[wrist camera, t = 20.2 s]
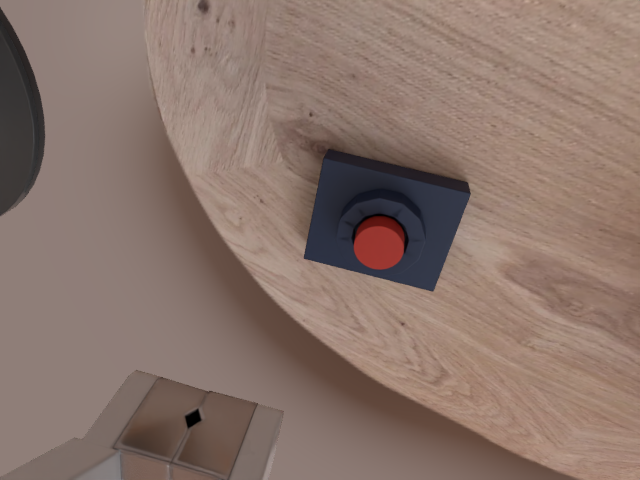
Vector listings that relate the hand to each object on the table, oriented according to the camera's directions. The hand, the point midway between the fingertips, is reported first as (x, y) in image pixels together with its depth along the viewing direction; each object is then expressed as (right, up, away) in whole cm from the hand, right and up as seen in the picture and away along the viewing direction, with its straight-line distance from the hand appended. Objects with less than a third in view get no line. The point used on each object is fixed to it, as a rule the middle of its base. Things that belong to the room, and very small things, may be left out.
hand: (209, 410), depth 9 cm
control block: (+7, +5, +29) cm, 31 cm away
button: (+7, +4, +26) cm, 27 cm away
